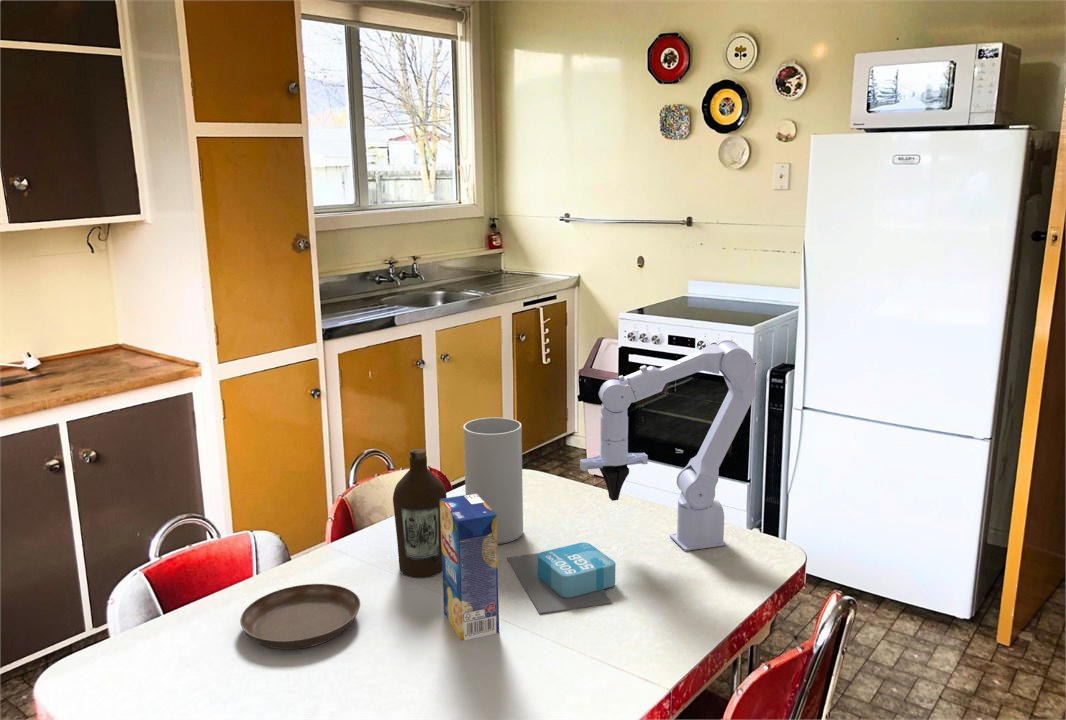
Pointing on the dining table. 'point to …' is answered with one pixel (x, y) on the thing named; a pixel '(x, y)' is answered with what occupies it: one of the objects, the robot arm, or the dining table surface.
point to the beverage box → (469, 566)
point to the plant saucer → (300, 615)
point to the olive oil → (419, 518)
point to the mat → (544, 594)
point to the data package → (576, 569)
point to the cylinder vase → (496, 471)
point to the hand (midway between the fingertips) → (613, 498)
